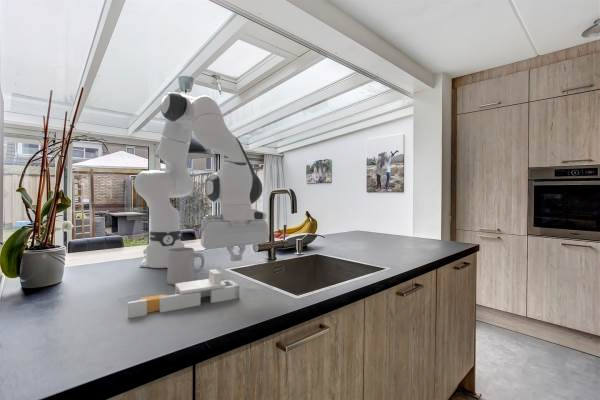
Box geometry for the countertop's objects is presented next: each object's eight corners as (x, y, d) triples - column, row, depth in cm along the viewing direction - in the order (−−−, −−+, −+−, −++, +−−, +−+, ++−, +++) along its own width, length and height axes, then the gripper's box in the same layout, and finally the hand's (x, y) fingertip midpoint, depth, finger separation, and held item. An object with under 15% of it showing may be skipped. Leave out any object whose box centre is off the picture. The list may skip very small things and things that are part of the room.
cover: (175, 286, 86) (175, 272, 86) (217, 280, 92) (217, 267, 92) (181, 294, 79) (181, 279, 79) (226, 286, 86) (226, 273, 86)
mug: (169, 286, 98) (169, 252, 98) (165, 280, 106) (165, 248, 105) (207, 281, 104) (207, 249, 104) (201, 275, 112) (201, 245, 111)
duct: (126, 308, 79) (126, 294, 79) (230, 291, 94) (230, 279, 94) (128, 318, 73) (128, 303, 73) (239, 298, 88) (239, 285, 88)
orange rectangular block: (133, 310, 78) (133, 299, 78) (171, 304, 83) (171, 293, 83) (134, 314, 75) (134, 302, 75) (173, 307, 80) (173, 296, 80)
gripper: (203, 216, 83) (204, 267, 83) (271, 213, 94) (271, 258, 94) (197, 214, 88) (197, 262, 88) (261, 212, 99) (262, 255, 99)
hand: (236, 260), depth 91 cm, fingers closed
